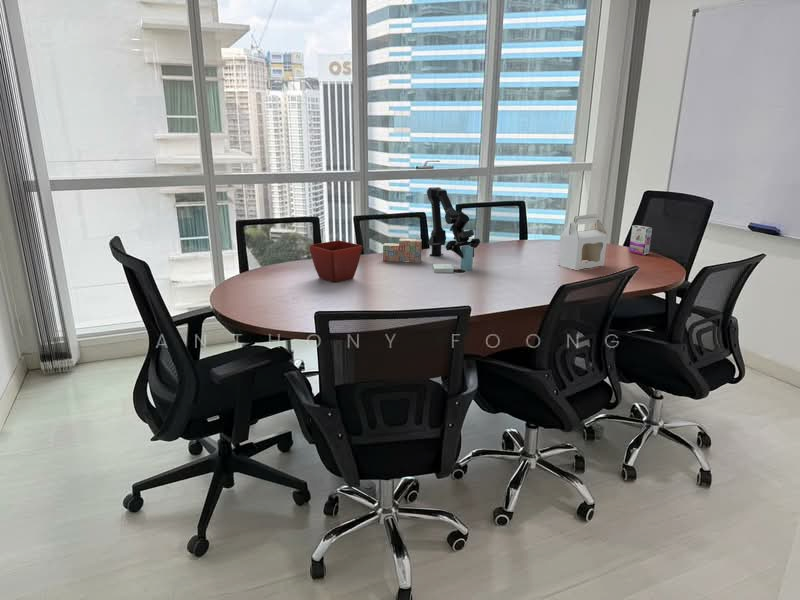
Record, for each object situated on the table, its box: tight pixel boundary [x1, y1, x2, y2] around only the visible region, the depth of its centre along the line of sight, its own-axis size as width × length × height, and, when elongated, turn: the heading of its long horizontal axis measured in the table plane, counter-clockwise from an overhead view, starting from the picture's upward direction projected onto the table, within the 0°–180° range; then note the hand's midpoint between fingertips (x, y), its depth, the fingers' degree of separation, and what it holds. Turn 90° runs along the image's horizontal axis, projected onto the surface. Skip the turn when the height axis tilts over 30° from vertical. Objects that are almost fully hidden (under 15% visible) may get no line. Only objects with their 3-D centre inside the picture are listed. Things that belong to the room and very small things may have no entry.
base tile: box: [432, 263, 454, 273], centre depth 304 cm, size 10×10×2 cm
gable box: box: [557, 213, 608, 270], centre depth 311 cm, size 22×13×28 cm, turn 119°
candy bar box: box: [628, 224, 653, 256], centre depth 343 cm, size 11×5×16 cm, turn 28°
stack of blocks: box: [382, 238, 423, 263], centre depth 322 cm, size 21×6×12 cm, turn 84°
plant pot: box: [309, 240, 363, 283], centre depth 285 cm, size 19×19×17 cm
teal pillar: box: [460, 245, 474, 271], centre depth 305 cm, size 4×4×12 cm
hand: (468, 257), depth 303 cm, fingers open, 6 cm apart
